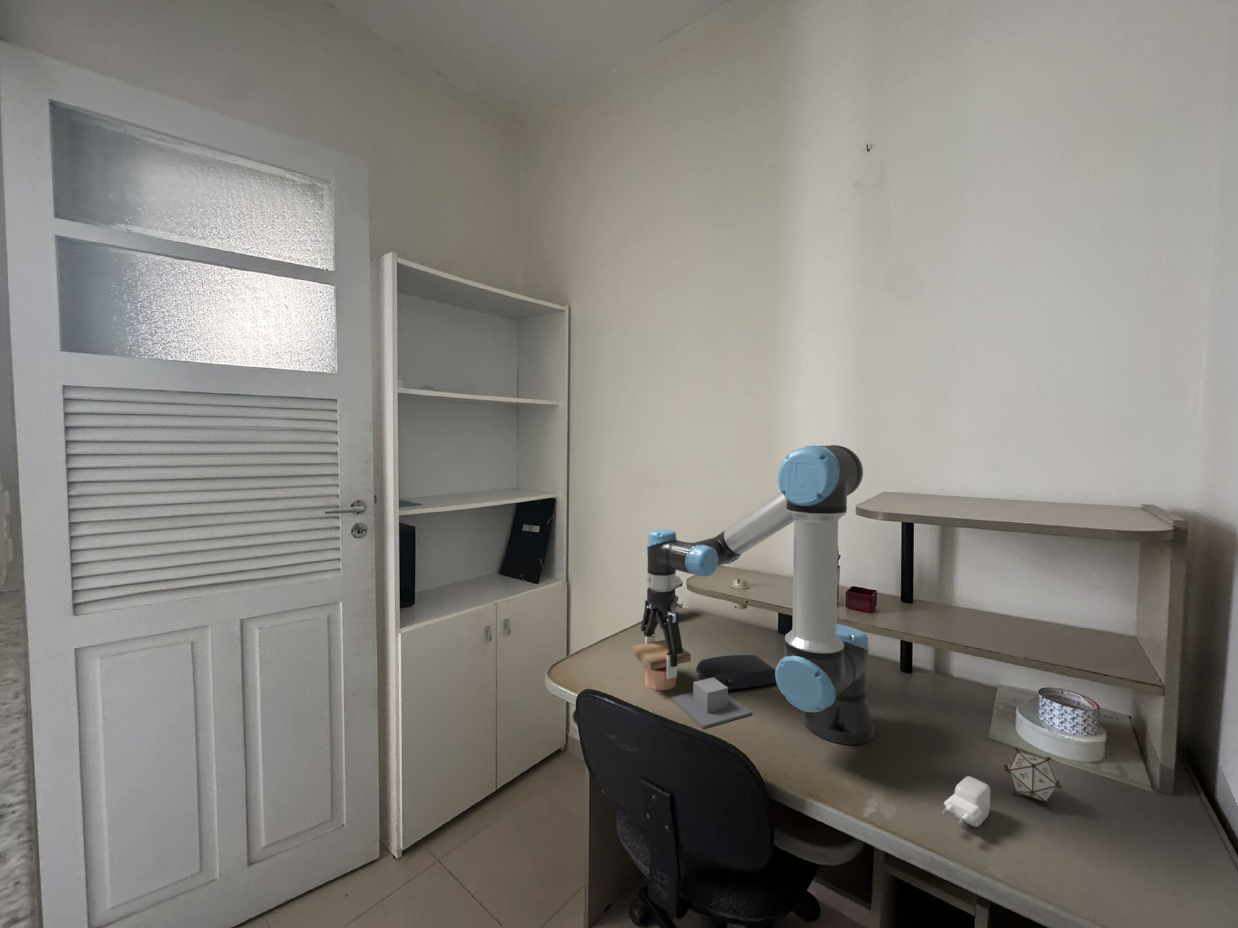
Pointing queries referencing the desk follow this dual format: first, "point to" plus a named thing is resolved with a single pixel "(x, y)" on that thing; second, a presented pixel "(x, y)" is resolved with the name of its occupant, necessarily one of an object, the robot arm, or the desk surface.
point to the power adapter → (969, 802)
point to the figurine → (673, 607)
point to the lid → (656, 654)
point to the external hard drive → (737, 671)
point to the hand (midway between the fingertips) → (660, 668)
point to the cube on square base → (710, 703)
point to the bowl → (658, 679)
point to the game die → (1032, 776)
